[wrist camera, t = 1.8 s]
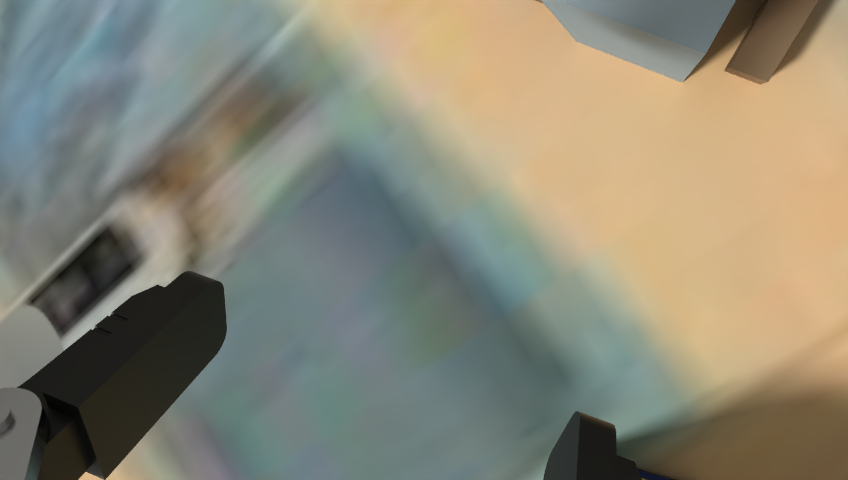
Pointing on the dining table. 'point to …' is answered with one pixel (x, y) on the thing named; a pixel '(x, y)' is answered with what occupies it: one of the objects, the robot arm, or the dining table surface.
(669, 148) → the dining table surface
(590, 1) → the gray block
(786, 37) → the guide channel
